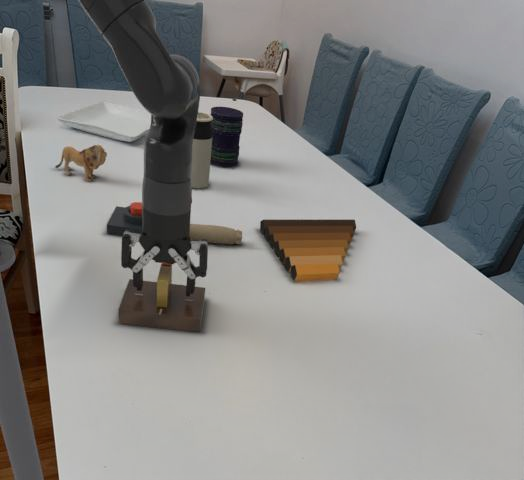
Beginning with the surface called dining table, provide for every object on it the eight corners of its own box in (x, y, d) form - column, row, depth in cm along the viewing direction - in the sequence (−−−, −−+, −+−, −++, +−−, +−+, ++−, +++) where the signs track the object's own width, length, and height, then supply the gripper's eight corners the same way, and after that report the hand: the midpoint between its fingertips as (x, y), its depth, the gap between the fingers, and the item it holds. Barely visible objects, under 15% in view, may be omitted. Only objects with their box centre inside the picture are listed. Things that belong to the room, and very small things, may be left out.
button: (128, 215, 110) (128, 207, 109) (131, 208, 113) (131, 201, 112) (145, 217, 110) (145, 209, 109) (147, 210, 113) (147, 203, 112)
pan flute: (348, 228, 131) (259, 229, 123) (351, 216, 129) (261, 216, 120) (395, 278, 113) (295, 283, 105) (400, 265, 111) (298, 269, 103)
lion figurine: (111, 178, 133) (109, 144, 128) (101, 185, 129) (99, 149, 124) (60, 166, 135) (56, 131, 129) (49, 172, 130) (45, 137, 125)
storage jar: (223, 170, 151) (230, 106, 140) (200, 159, 155) (204, 97, 144) (244, 164, 158) (251, 103, 146) (220, 154, 161) (226, 94, 150)
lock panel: (118, 324, 85) (118, 309, 83) (129, 292, 93) (129, 277, 91) (200, 332, 87) (201, 318, 85) (204, 300, 95) (205, 286, 93)
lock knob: (167, 307, 86) (168, 279, 82) (156, 306, 86) (157, 278, 82) (171, 289, 91) (172, 261, 87) (161, 288, 90) (162, 260, 87)
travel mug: (205, 178, 143) (210, 112, 132) (210, 189, 137) (216, 121, 126) (178, 177, 141) (180, 109, 130) (181, 188, 135) (185, 118, 124)
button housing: (107, 234, 109) (106, 217, 107) (116, 215, 117) (115, 198, 115) (162, 240, 111) (162, 224, 108) (167, 221, 118) (168, 205, 116)
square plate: (103, 111, 179) (102, 99, 176) (172, 129, 175) (173, 117, 172) (56, 128, 158) (55, 115, 156) (133, 148, 154) (133, 135, 151)
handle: (240, 253, 113) (174, 246, 110) (238, 240, 118) (174, 232, 114) (244, 234, 110) (176, 225, 107) (241, 221, 115) (176, 213, 111)
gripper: (115, 206, 74) (118, 298, 84) (211, 219, 75) (203, 307, 85) (125, 187, 79) (127, 275, 90) (213, 199, 81) (206, 284, 91)
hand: (164, 291), depth 87 cm, fingers open, 8 cm apart
